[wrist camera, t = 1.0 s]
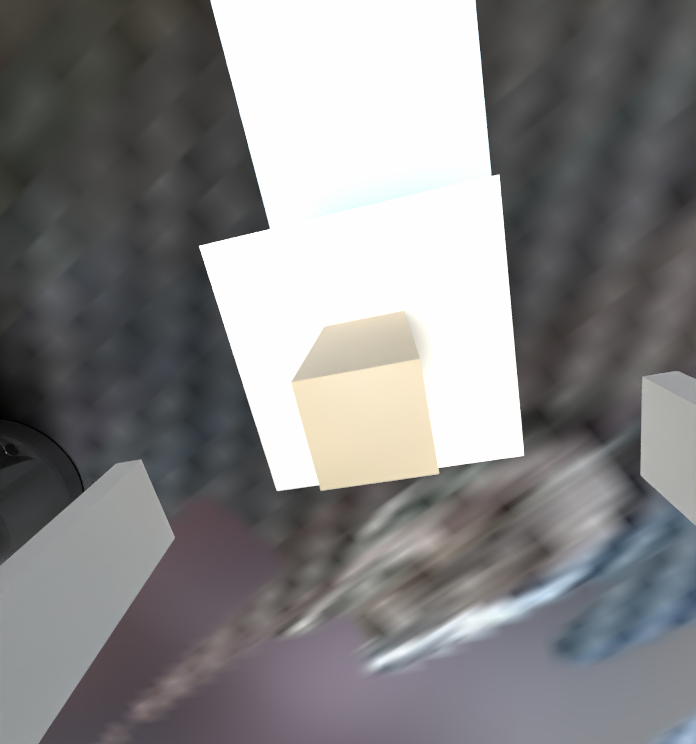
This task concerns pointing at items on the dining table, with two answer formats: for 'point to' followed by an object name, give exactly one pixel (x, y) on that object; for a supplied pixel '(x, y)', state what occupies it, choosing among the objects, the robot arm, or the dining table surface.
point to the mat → (355, 99)
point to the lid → (376, 338)
